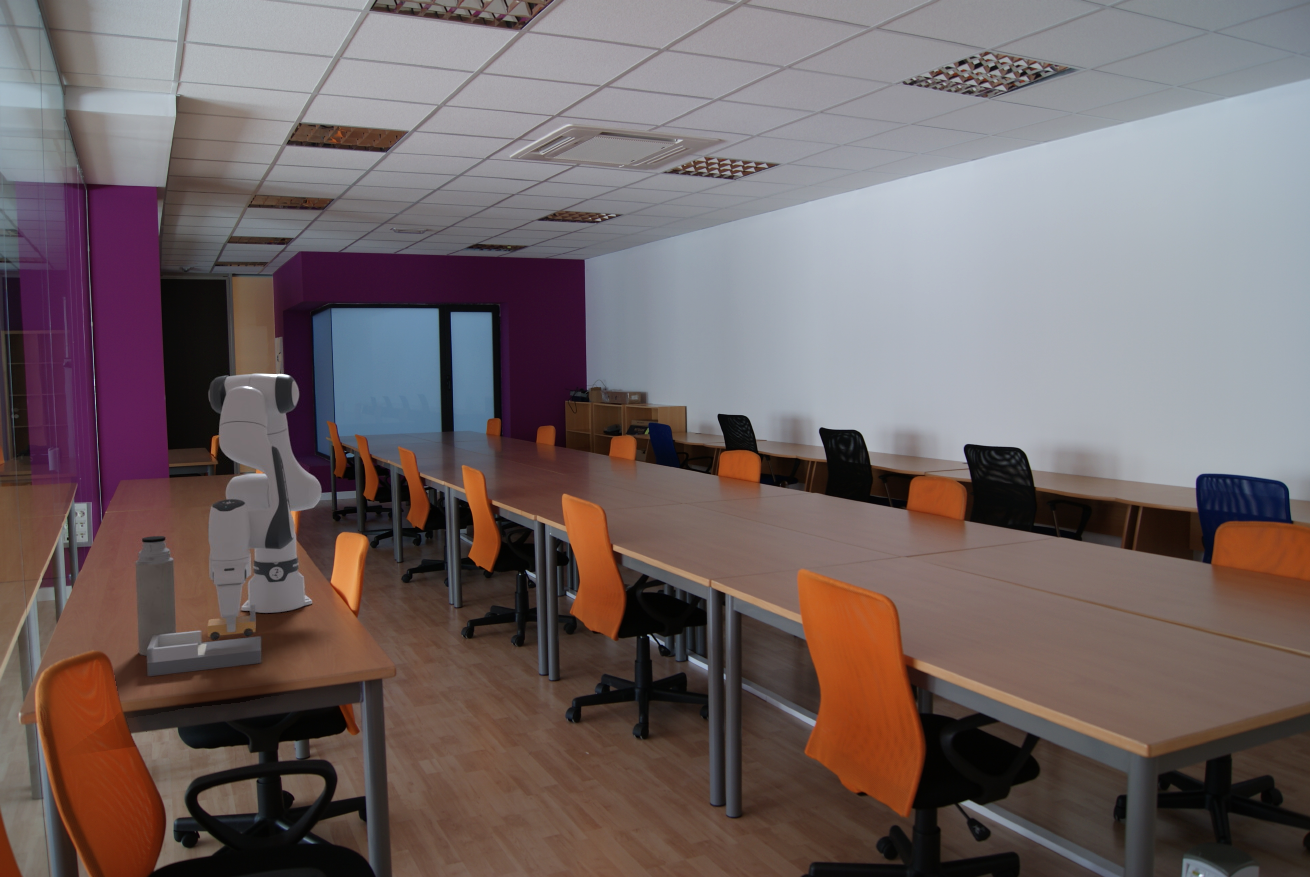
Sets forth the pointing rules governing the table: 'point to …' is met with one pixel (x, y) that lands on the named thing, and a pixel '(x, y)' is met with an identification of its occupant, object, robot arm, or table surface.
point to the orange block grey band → (242, 625)
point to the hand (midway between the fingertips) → (232, 627)
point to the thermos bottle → (154, 591)
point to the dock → (198, 653)
